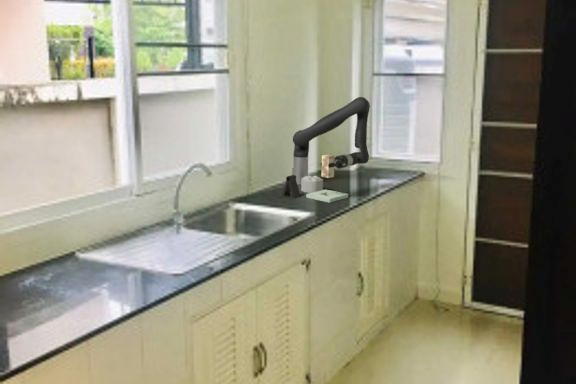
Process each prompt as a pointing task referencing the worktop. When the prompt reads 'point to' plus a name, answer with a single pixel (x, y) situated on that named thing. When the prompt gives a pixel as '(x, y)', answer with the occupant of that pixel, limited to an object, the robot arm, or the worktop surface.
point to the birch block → (326, 170)
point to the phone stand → (291, 187)
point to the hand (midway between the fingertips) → (325, 165)
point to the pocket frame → (327, 195)
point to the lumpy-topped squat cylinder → (311, 184)
